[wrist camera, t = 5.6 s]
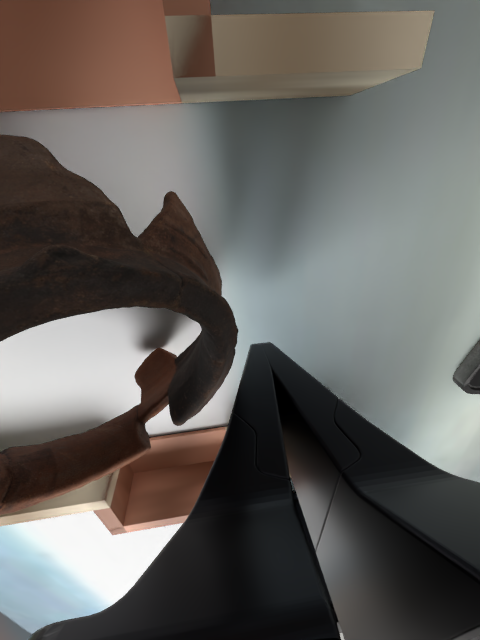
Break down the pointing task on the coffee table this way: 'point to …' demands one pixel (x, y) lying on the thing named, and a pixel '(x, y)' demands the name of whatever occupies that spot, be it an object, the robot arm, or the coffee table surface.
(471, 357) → the phone
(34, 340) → the coffee table surface
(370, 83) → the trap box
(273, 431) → the robot arm
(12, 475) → the pottery mug
